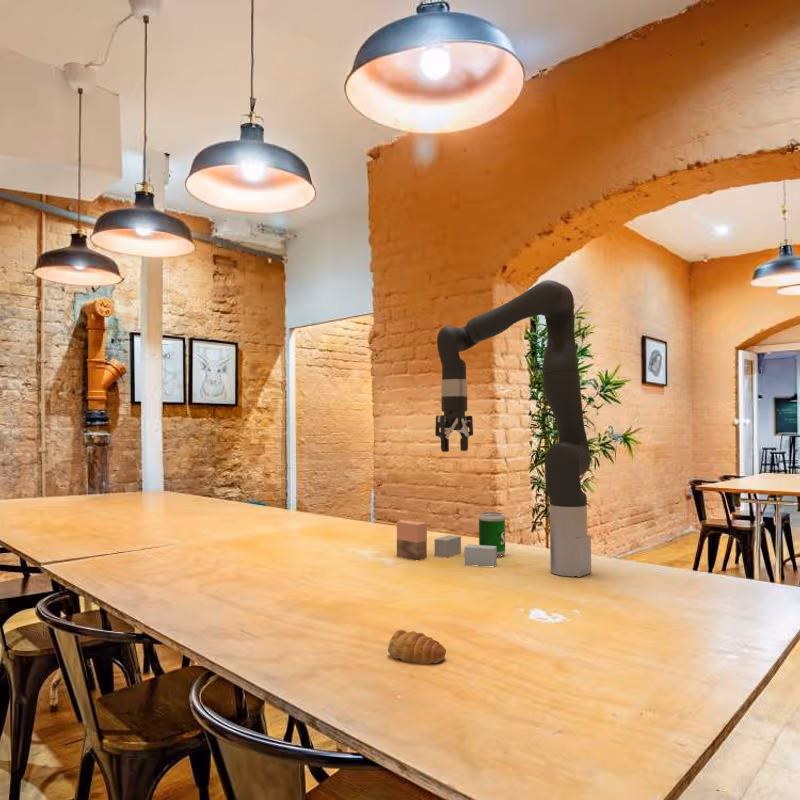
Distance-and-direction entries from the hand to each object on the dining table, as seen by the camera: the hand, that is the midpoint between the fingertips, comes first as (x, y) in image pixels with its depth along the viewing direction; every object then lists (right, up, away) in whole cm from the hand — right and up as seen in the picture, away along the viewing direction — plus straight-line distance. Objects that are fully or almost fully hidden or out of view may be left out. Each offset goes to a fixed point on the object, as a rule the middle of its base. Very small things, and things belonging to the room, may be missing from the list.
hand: (454, 451), depth 183 cm
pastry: (-13, -28, -78) cm, 84 cm away
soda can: (+11, -30, 0) cm, 32 cm away
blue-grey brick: (+6, -30, -12) cm, 33 cm away
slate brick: (-2, -30, +1) cm, 30 cm away
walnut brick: (-13, -30, -3) cm, 33 cm away
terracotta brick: (-13, -25, -2) cm, 28 cm away
